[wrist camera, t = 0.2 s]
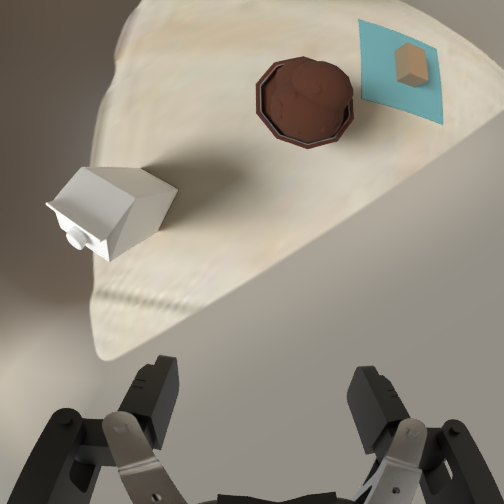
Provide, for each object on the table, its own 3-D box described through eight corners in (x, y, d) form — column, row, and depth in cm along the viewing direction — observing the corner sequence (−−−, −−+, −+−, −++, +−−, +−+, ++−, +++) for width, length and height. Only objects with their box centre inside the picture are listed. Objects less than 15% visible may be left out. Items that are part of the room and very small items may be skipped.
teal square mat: (357, 21, 29) (367, 6, 24) (434, 50, 30) (449, 41, 25) (359, 99, 34) (373, 90, 29) (440, 125, 34) (458, 122, 29)
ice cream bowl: (266, 74, 32) (272, 22, 18) (340, 100, 33) (384, 64, 19) (243, 140, 35) (237, 116, 21) (320, 165, 36) (360, 159, 22)
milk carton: (139, 167, 36) (57, 166, 18) (179, 189, 37) (115, 202, 19) (120, 209, 38) (37, 237, 19) (157, 232, 39) (89, 276, 20)
